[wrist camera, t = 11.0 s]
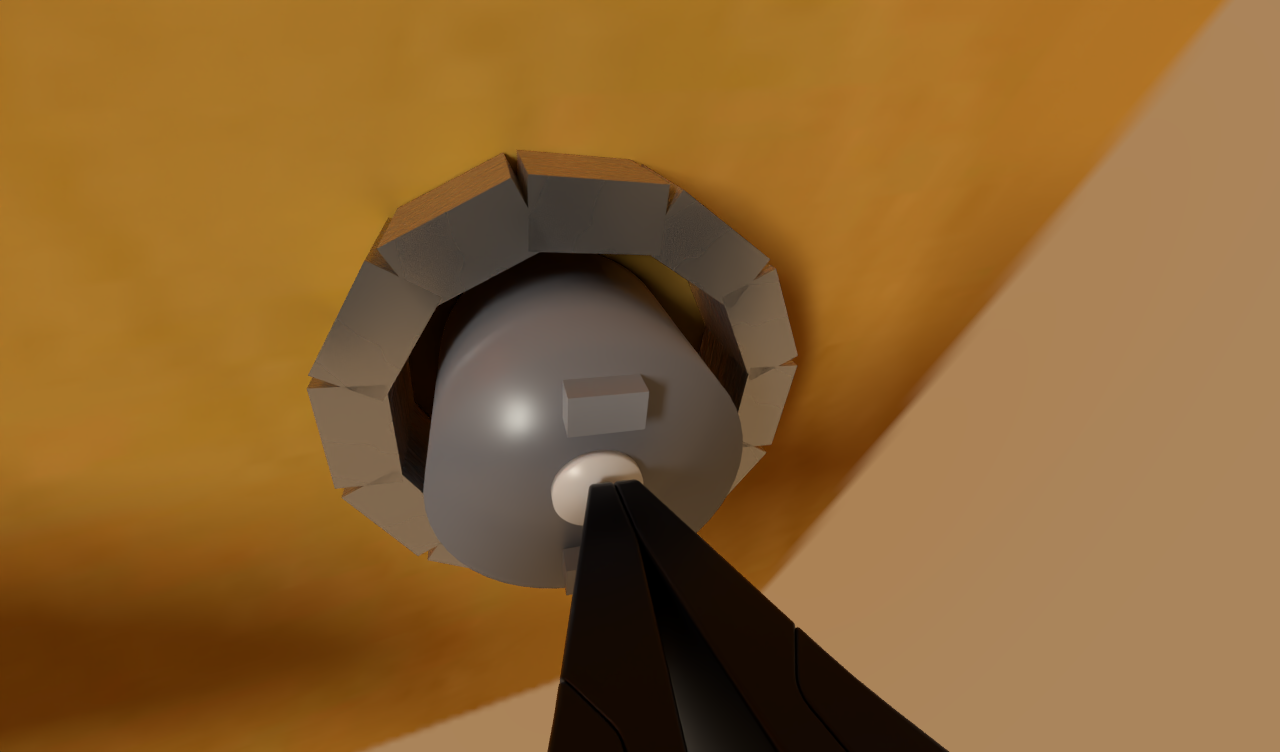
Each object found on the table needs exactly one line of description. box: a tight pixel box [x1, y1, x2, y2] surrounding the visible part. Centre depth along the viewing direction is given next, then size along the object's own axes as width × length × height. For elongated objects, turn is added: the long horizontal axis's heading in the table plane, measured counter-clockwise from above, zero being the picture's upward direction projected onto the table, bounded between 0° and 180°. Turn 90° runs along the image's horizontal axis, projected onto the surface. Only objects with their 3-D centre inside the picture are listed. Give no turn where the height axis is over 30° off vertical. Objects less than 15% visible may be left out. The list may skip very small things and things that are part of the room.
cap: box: [423, 252, 743, 595], centre depth 10 cm, size 6×6×5 cm
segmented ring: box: [307, 150, 798, 568], centre depth 11 cm, size 10×10×2 cm
